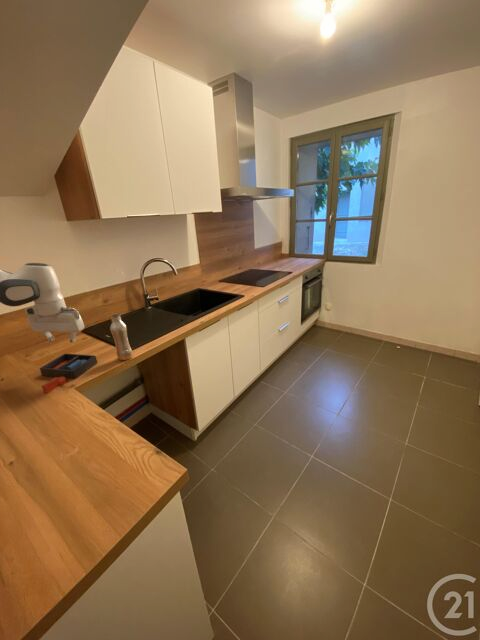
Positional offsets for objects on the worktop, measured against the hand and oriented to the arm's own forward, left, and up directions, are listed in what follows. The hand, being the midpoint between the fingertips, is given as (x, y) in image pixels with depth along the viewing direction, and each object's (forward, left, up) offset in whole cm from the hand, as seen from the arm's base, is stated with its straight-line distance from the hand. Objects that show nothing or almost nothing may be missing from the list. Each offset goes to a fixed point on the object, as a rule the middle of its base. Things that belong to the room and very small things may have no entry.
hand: (62, 341), depth 100 cm
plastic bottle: (+14, +14, -15) cm, 25 cm away
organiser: (-4, +3, -14) cm, 15 cm away
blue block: (0, +3, -14) cm, 14 cm away
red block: (0, -9, -14) cm, 17 cm away
